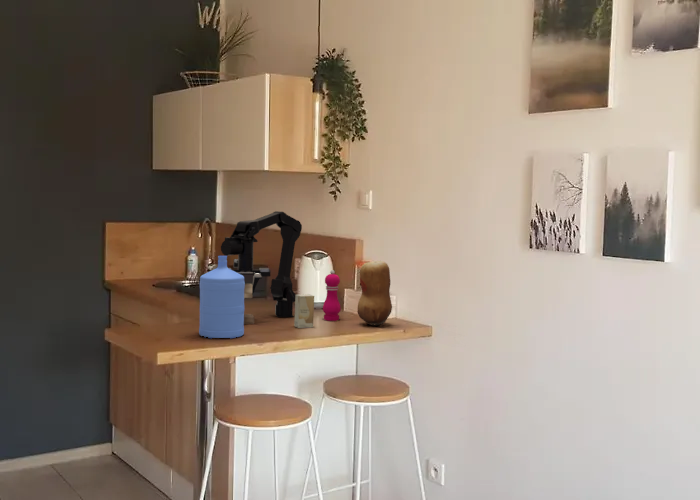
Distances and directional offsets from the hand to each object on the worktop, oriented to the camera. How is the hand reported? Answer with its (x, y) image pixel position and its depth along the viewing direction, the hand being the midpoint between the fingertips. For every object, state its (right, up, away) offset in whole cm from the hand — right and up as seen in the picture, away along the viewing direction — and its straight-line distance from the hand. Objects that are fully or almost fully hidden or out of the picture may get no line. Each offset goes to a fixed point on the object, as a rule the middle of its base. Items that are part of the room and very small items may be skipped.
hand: (245, 294), depth 303 cm
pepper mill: (+33, -11, +12) cm, 37 cm away
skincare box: (+23, -12, -6) cm, 27 cm away
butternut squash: (+50, -12, +2) cm, 51 cm away
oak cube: (0, -1, 0) cm, 1 cm away
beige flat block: (-1, -11, +1) cm, 11 cm away
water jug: (-5, -13, -26) cm, 29 cm away
